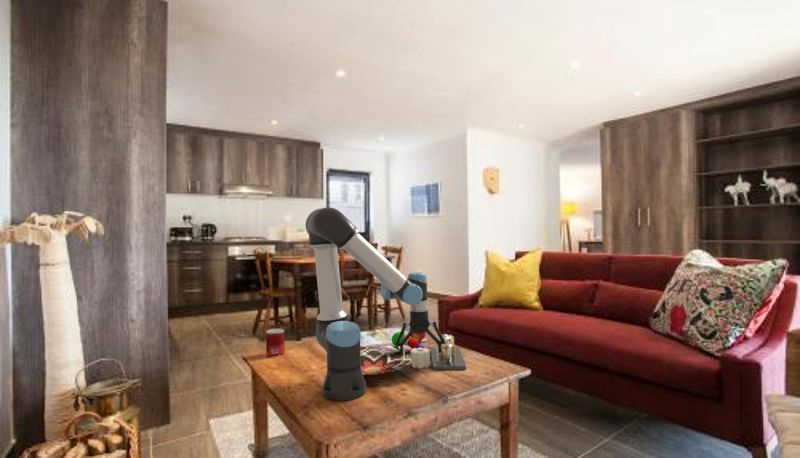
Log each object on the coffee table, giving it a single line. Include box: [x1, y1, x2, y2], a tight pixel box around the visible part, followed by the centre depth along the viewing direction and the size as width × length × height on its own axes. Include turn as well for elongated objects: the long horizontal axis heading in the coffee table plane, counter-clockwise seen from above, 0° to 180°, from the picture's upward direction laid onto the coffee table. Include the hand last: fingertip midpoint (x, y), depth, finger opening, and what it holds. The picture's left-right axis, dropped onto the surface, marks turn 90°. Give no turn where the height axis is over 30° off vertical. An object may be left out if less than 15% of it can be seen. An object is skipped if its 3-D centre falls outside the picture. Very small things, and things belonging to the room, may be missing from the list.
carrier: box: [429, 333, 467, 371], centre depth 173 cm, size 13×25×8 cm, turn 178°
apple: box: [408, 326, 427, 342], centre depth 202 cm, size 8×8×10 cm
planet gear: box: [410, 347, 431, 369], centre depth 167 cm, size 8×8×6 cm
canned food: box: [265, 328, 285, 357], centre depth 185 cm, size 8×8×11 cm
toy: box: [391, 331, 425, 352], centre depth 186 cm, size 8×8×15 cm
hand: (421, 361), depth 167 cm, fingers open, 13 cm apart
